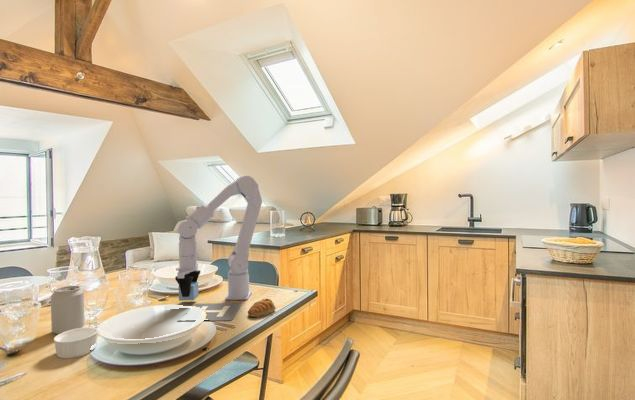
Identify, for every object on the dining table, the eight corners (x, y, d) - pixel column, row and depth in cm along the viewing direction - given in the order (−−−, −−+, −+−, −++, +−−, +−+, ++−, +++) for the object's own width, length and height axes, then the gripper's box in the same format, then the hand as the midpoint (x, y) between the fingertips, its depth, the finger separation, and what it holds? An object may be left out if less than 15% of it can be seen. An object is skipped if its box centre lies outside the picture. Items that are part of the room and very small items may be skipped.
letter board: (195, 304, 121) (195, 303, 121) (242, 303, 121) (242, 303, 121) (177, 321, 105) (177, 320, 105) (231, 320, 105) (231, 320, 105)
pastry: (260, 320, 106) (259, 307, 106) (242, 317, 109) (241, 304, 109) (277, 310, 114) (276, 299, 114) (259, 308, 117) (259, 296, 117)
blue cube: (184, 296, 125) (184, 282, 125) (198, 296, 125) (198, 282, 125) (178, 300, 120) (178, 286, 120) (193, 300, 120) (193, 285, 120)
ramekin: (64, 363, 80) (64, 344, 80) (47, 354, 84) (46, 336, 84) (105, 348, 87) (105, 331, 87) (87, 341, 92) (86, 324, 92)
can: (90, 327, 101) (89, 285, 101) (64, 337, 94) (63, 292, 94) (72, 324, 104) (70, 283, 103) (45, 334, 96) (43, 290, 96)
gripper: (184, 251, 130) (184, 288, 130) (167, 259, 115) (168, 300, 116) (203, 251, 130) (204, 288, 130) (189, 259, 115) (190, 300, 116)
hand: (188, 294), depth 123 cm, fingers closed on blue cube, 5 cm apart
